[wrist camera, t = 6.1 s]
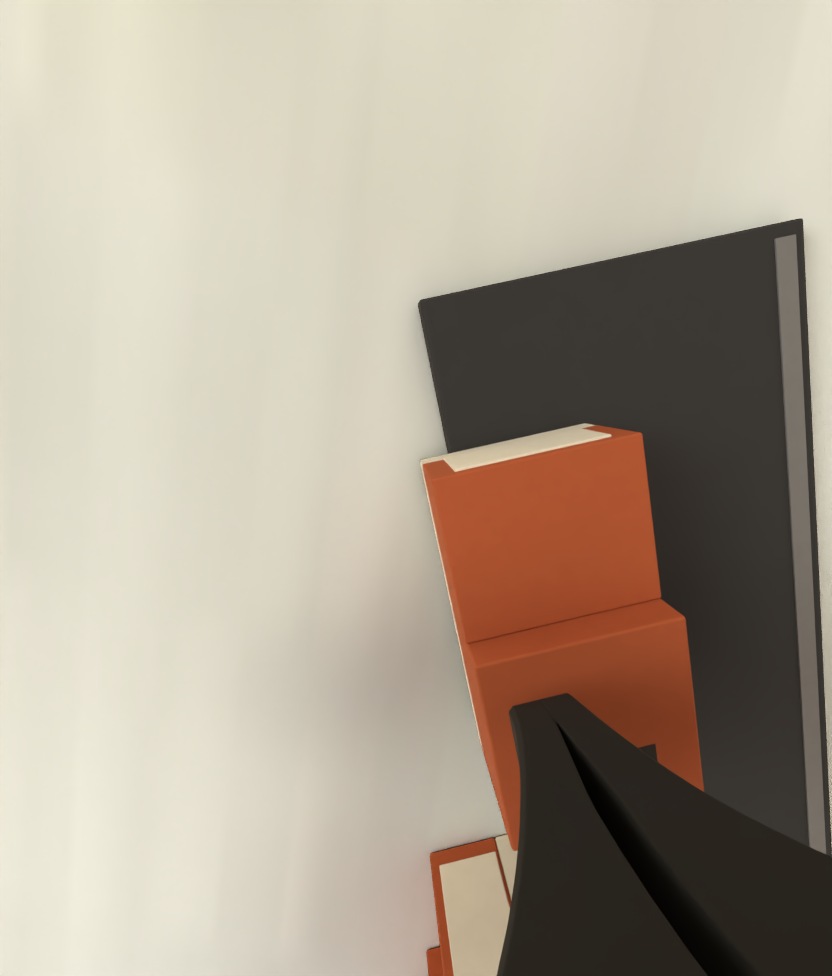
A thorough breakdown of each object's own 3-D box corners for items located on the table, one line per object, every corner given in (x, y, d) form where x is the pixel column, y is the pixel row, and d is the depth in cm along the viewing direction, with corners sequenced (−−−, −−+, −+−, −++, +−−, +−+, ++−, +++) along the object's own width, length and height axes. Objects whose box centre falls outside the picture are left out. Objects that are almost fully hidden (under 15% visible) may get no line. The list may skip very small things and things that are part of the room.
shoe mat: (564, 1026, 20) (570, 1047, 19) (417, 303, 14) (419, 299, 14) (824, 956, 20) (839, 975, 20) (786, 224, 15) (805, 216, 14)
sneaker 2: (512, 853, 12) (708, 804, 13) (435, 486, 10) (670, 433, 11) (478, 737, 16) (626, 700, 17) (418, 457, 14) (587, 420, 15)
